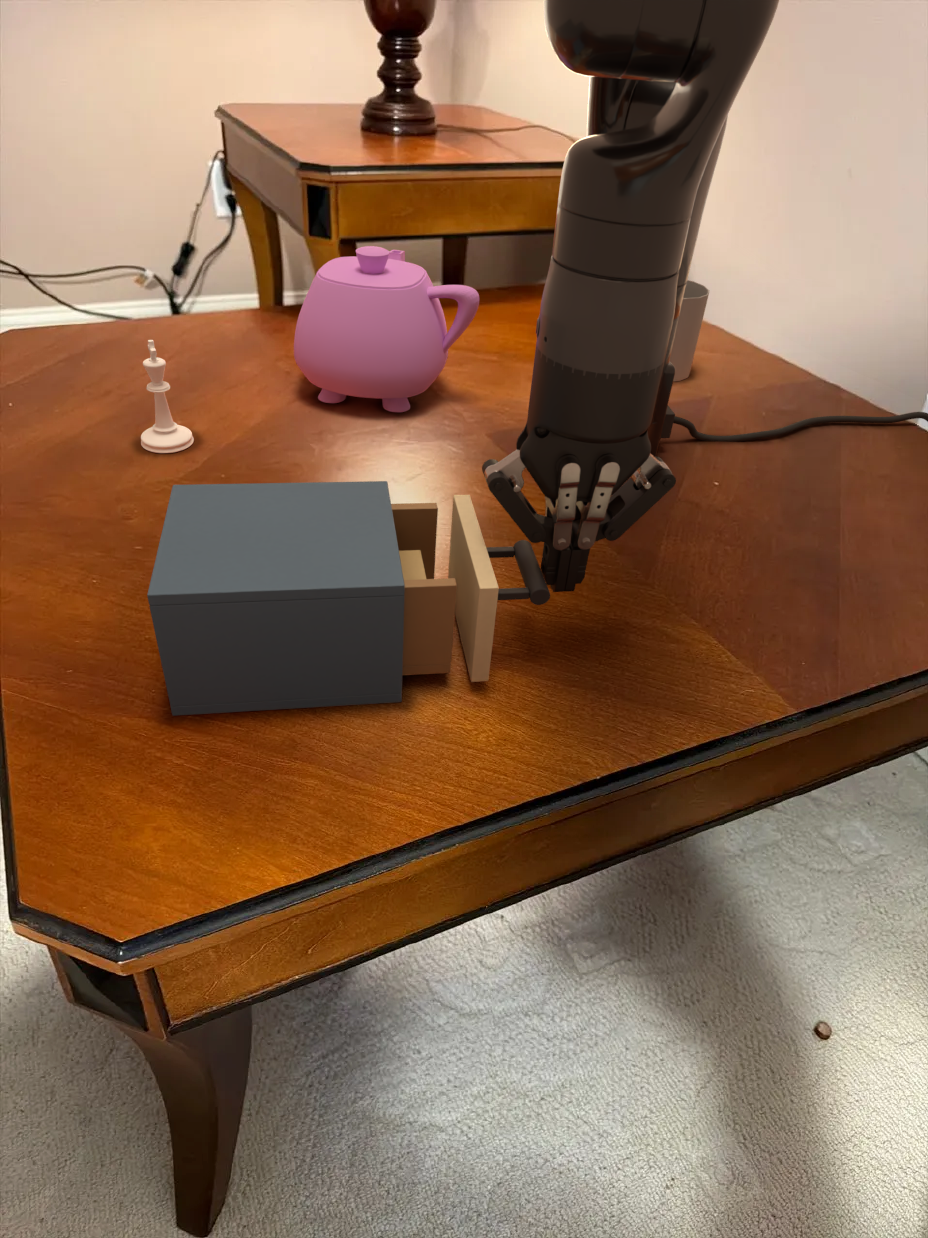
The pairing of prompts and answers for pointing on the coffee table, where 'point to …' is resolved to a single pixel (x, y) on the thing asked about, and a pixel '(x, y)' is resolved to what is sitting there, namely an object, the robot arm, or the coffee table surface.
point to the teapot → (377, 328)
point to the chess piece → (162, 412)
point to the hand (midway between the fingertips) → (560, 585)
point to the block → (412, 565)
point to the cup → (688, 328)
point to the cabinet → (278, 597)
